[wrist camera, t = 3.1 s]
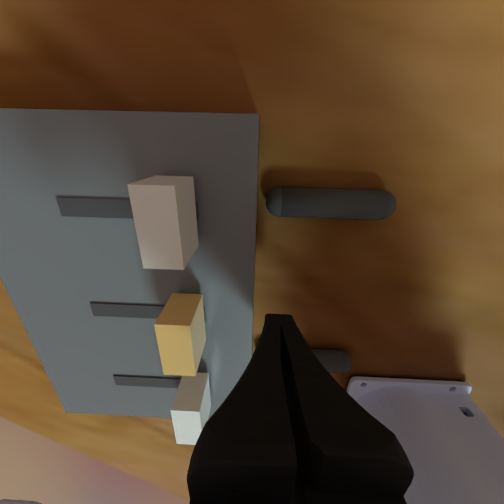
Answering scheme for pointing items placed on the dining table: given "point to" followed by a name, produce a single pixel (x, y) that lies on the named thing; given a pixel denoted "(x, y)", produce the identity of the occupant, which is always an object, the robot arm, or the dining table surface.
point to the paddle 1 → (165, 220)
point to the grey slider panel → (125, 248)
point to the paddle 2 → (191, 408)
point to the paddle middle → (181, 334)
